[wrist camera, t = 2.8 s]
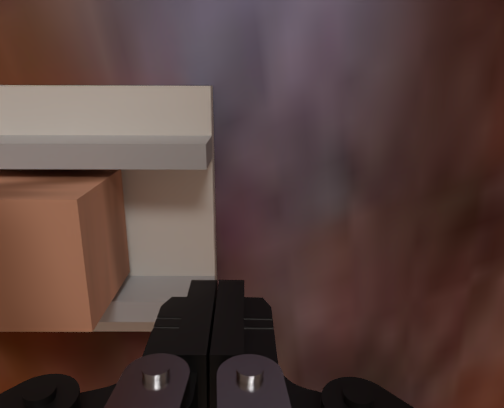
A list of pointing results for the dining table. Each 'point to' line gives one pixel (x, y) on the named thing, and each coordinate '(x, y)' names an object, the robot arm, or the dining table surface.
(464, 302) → the dining table surface
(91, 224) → the block
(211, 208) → the chute
